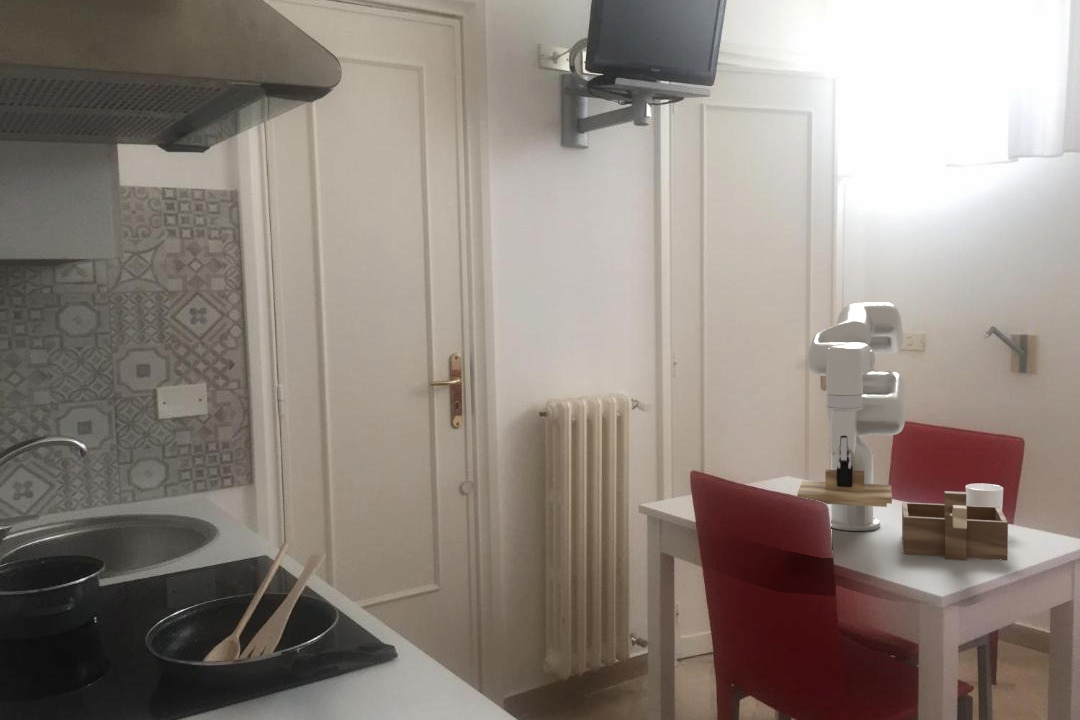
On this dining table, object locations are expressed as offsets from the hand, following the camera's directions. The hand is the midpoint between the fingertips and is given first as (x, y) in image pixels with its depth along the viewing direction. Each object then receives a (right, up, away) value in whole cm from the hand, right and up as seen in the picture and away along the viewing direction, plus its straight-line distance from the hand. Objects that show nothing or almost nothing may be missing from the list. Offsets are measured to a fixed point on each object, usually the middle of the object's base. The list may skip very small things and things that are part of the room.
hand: (844, 484), depth 205 cm
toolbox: (+23, -13, -3) cm, 26 cm away
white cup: (+36, -12, +12) cm, 40 cm away
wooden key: (+17, -5, -18) cm, 25 cm away
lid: (0, -3, 0) cm, 3 cm away
